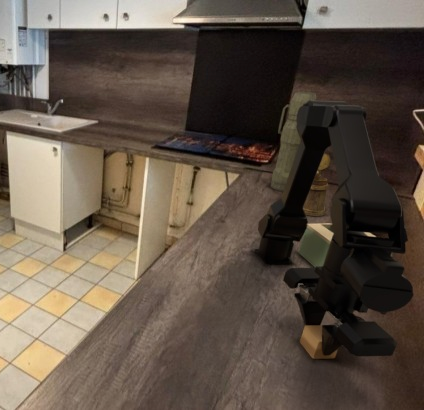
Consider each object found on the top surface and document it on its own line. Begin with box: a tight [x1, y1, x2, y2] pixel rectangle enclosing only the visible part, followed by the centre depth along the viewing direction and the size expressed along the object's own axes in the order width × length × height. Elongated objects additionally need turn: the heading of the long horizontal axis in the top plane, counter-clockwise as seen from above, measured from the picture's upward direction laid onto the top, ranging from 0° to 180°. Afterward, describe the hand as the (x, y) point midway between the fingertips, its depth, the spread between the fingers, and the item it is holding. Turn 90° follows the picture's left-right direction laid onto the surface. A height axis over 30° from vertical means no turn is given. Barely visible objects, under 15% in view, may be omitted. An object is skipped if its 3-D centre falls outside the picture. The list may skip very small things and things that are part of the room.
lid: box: [307, 222, 377, 244], centre depth 83 cm, size 12×12×1 cm
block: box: [299, 324, 339, 360], centre depth 61 cm, size 4×4×4 cm
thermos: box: [270, 90, 317, 192], centre depth 129 cm, size 9×12×35 cm
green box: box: [298, 227, 394, 268], centre depth 85 cm, size 12×12×8 cm
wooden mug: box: [303, 152, 332, 217], centre depth 115 cm, size 9×14×18 cm, turn 149°
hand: (318, 345), depth 62 cm, fingers closed on block, 4 cm apart
